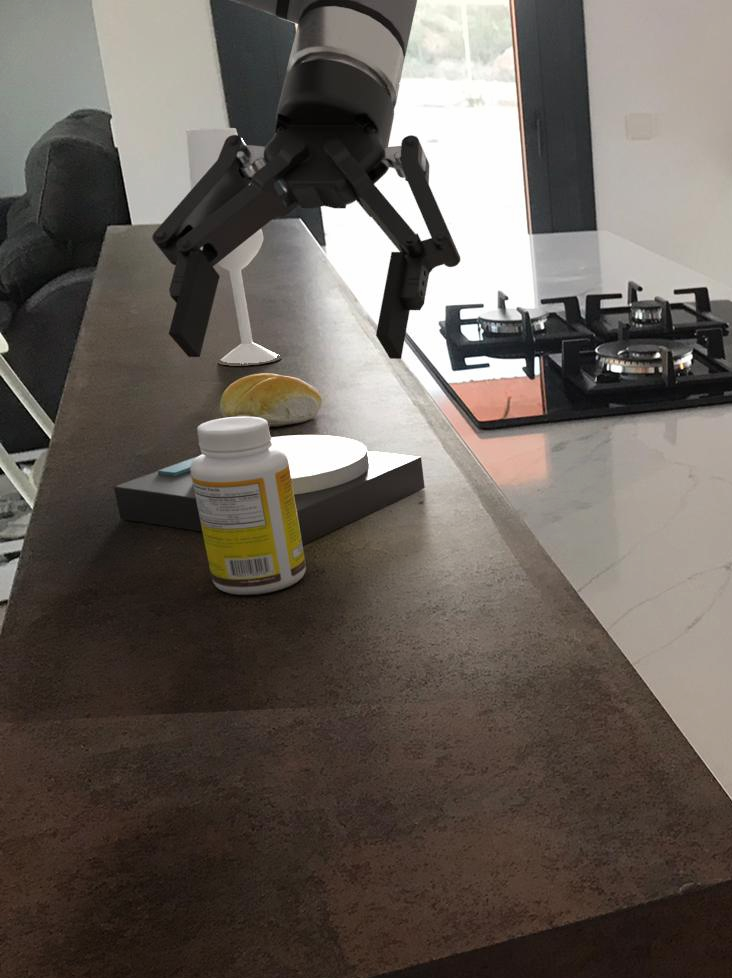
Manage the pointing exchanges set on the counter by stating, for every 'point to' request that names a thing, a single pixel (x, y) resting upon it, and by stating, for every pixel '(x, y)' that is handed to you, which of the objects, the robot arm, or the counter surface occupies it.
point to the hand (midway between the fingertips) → (286, 347)
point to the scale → (315, 479)
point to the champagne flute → (201, 158)
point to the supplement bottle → (246, 507)
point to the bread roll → (271, 399)
